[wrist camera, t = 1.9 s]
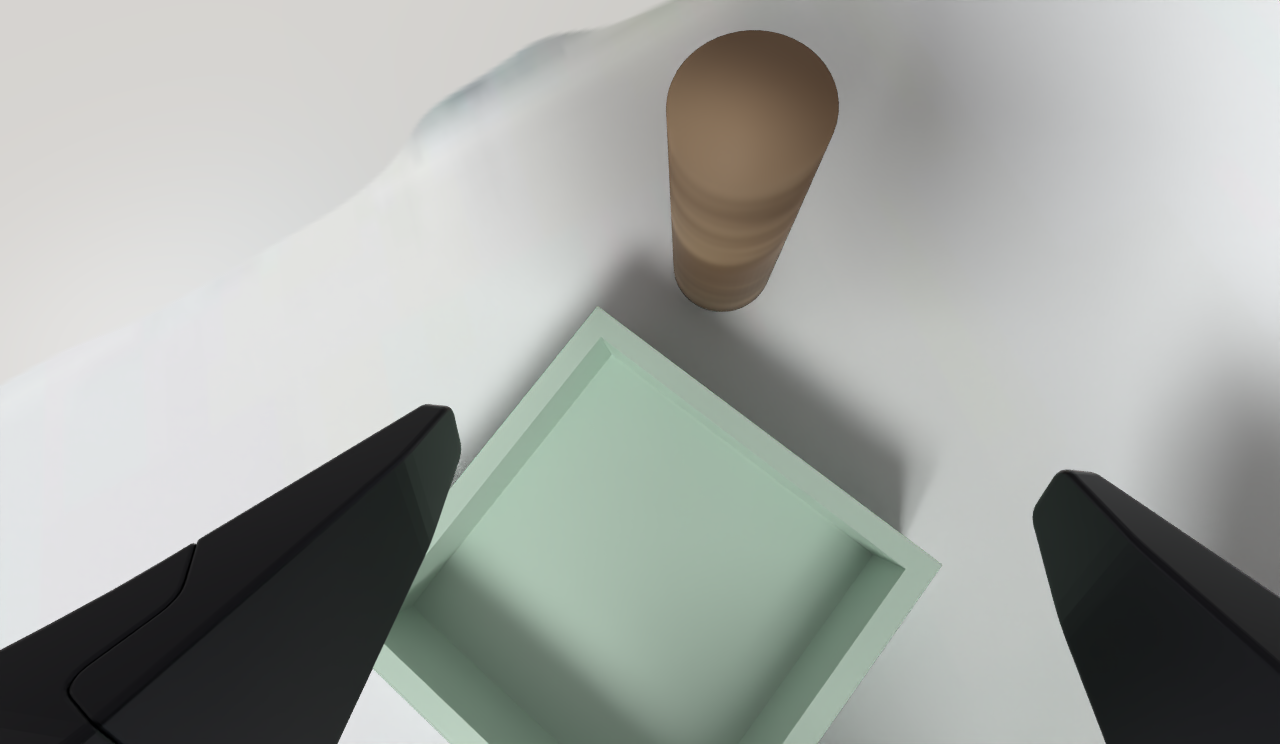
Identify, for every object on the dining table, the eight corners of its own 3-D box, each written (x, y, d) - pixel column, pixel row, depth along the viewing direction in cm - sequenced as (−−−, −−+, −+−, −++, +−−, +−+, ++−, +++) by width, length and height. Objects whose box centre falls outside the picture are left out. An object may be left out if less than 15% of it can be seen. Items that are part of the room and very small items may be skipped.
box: (671, 872, 20) (669, 956, 16) (388, 606, 22) (334, 631, 19) (900, 549, 21) (942, 564, 18) (610, 330, 23) (597, 305, 20)
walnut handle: (731, 330, 23) (771, 217, 13) (654, 274, 24) (632, 124, 13) (789, 255, 23) (873, 86, 13) (712, 202, 24) (733, 1, 14)
